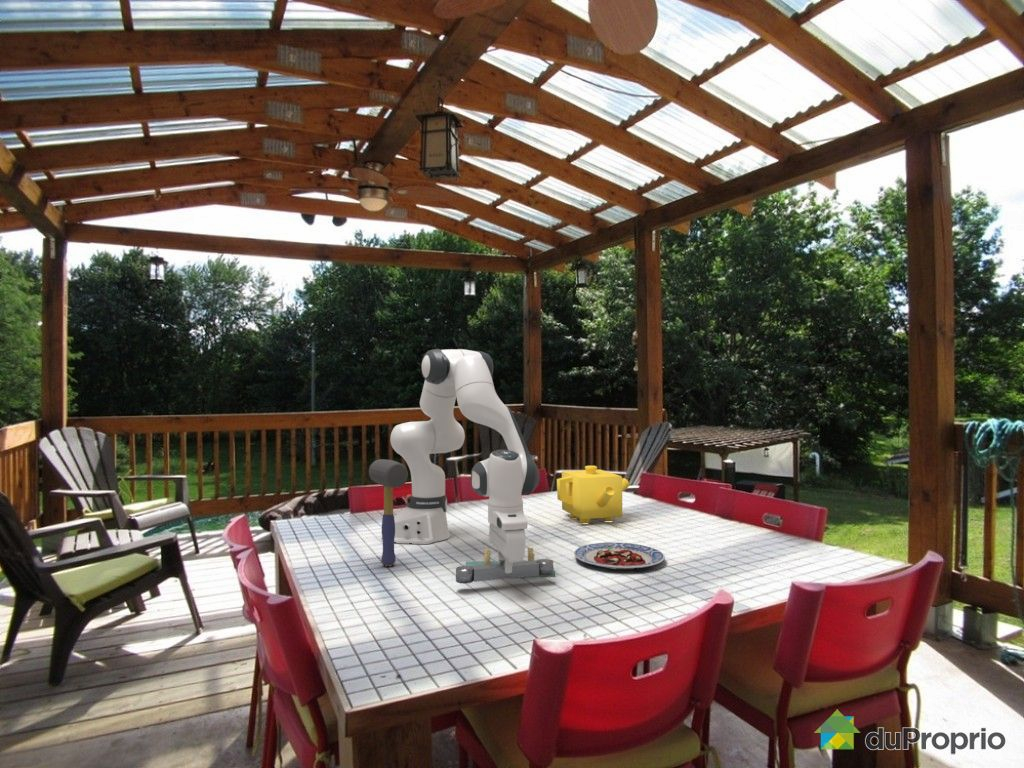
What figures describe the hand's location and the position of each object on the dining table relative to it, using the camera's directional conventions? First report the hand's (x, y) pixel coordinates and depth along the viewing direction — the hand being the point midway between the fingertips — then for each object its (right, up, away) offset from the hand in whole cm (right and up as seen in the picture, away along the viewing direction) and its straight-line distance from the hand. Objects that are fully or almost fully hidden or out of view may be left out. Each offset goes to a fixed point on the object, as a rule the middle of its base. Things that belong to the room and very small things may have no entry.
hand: (505, 569), depth 156 cm
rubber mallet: (-33, -5, +19) cm, 38 cm away
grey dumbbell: (0, -2, 0) cm, 2 cm away
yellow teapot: (+33, -4, +78) cm, 84 cm away
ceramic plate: (+33, -5, +23) cm, 40 cm away
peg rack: (+1, -4, +13) cm, 13 cm away
